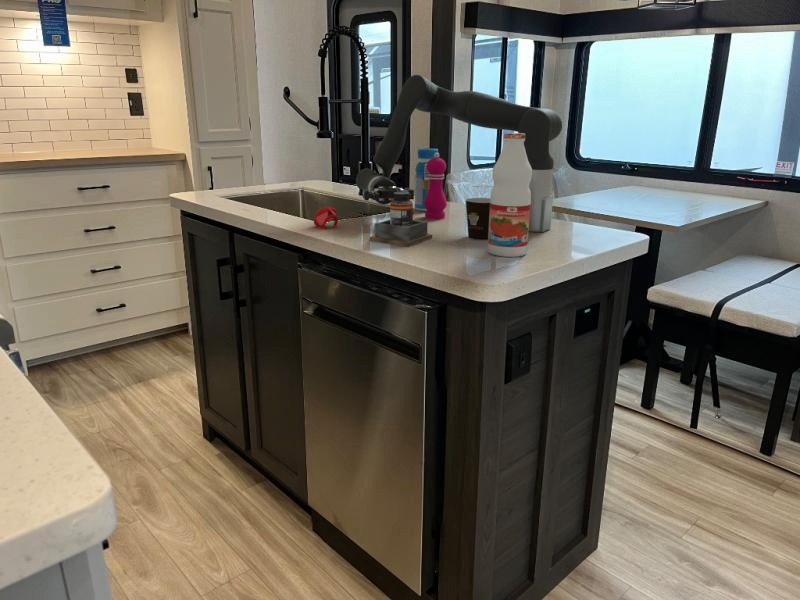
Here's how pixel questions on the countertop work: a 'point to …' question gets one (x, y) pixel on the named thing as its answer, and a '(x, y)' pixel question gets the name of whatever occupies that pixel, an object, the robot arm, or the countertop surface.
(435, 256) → the countertop surface
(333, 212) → the red toy crab
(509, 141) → the fruit juice
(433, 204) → the pepper mill
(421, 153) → the beverage bottle
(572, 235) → the countertop surface
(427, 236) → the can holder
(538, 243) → the countertop surface
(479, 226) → the coffee mug
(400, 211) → the supplement bottle
